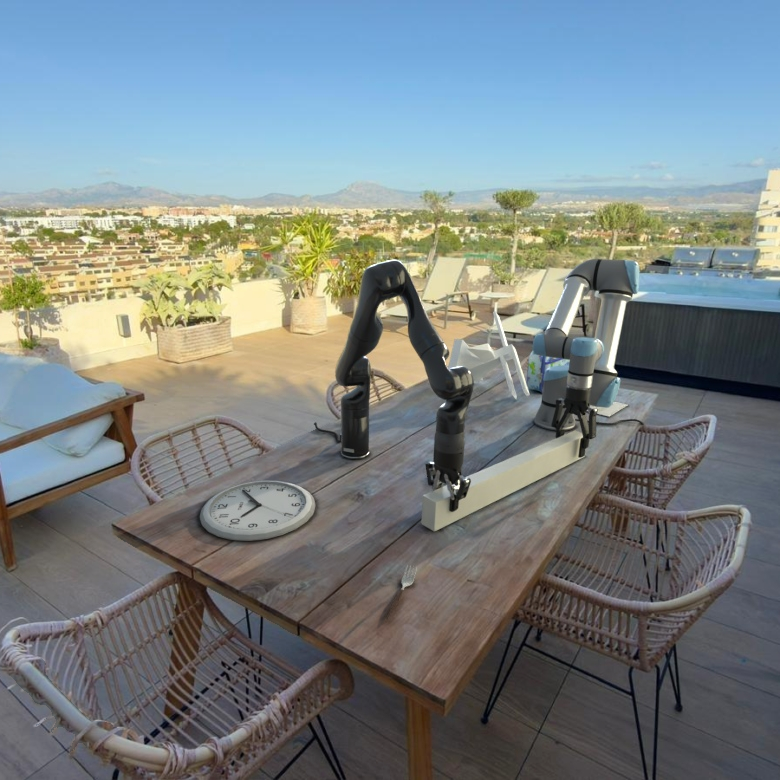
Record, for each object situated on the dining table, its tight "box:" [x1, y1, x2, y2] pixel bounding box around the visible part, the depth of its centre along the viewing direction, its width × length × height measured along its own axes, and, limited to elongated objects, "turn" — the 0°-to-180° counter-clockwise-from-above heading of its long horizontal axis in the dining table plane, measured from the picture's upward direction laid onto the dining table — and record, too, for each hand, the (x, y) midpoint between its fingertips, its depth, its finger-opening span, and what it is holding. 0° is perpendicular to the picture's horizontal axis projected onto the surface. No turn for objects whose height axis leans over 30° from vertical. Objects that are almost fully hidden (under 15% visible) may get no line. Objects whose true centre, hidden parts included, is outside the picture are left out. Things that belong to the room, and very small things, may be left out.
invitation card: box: [586, 401, 629, 418], centre depth 226 cm, size 21×1×15 cm
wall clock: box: [199, 480, 316, 542], centre depth 140 cm, size 30×2×30 cm
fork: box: [386, 563, 418, 620], centre depth 108 cm, size 3×16×2 cm, turn 160°
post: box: [420, 429, 587, 532], centre depth 154 cm, size 72×5×8 cm, turn 131°
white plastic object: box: [447, 310, 531, 400], centre depth 245 cm, size 37×45×31 cm
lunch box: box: [526, 350, 570, 394], centre depth 248 cm, size 26×11×21 cm, turn 135°
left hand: (445, 506), depth 135 cm, fingers open, 5 cm apart
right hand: (570, 452), depth 173 cm, fingers open, 7 cm apart
